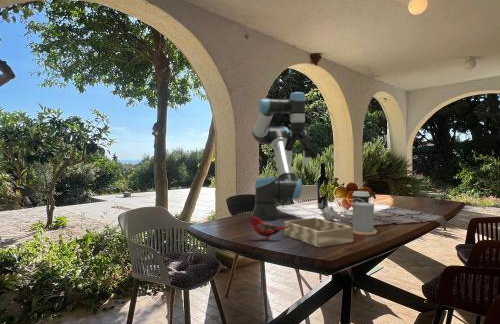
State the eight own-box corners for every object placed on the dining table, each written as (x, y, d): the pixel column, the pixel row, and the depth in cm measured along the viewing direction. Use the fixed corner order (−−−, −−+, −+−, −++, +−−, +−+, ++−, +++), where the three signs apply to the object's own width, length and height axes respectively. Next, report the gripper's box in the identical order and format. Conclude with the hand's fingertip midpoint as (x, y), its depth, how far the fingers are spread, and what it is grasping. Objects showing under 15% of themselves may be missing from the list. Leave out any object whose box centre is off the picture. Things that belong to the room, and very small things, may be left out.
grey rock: (332, 228, 185) (338, 215, 179) (317, 222, 187) (322, 209, 181) (334, 217, 192) (340, 205, 186) (320, 211, 194) (325, 199, 188)
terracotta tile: (344, 230, 162) (344, 228, 162) (362, 228, 168) (362, 226, 168) (363, 236, 152) (363, 234, 152) (382, 233, 158) (382, 231, 158)
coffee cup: (372, 219, 189) (372, 192, 189) (354, 219, 189) (355, 192, 189) (366, 216, 199) (366, 190, 198) (350, 216, 199) (350, 190, 198)
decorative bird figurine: (249, 238, 148) (249, 215, 148) (290, 239, 146) (290, 216, 146) (248, 240, 145) (248, 217, 145) (290, 241, 143) (290, 217, 143)
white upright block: (358, 226, 167) (358, 201, 166) (377, 229, 160) (377, 203, 160) (348, 229, 160) (348, 203, 160) (367, 233, 153) (368, 206, 153)
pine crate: (283, 234, 156) (283, 221, 155) (315, 230, 164) (315, 217, 164) (319, 247, 134) (319, 232, 134) (353, 241, 143) (353, 227, 143)
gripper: (278, 123, 186) (278, 162, 187) (307, 120, 164) (306, 164, 165) (289, 124, 190) (289, 162, 190) (319, 120, 168) (318, 163, 169)
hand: (297, 163), depth 178 cm, fingers open, 13 cm apart
